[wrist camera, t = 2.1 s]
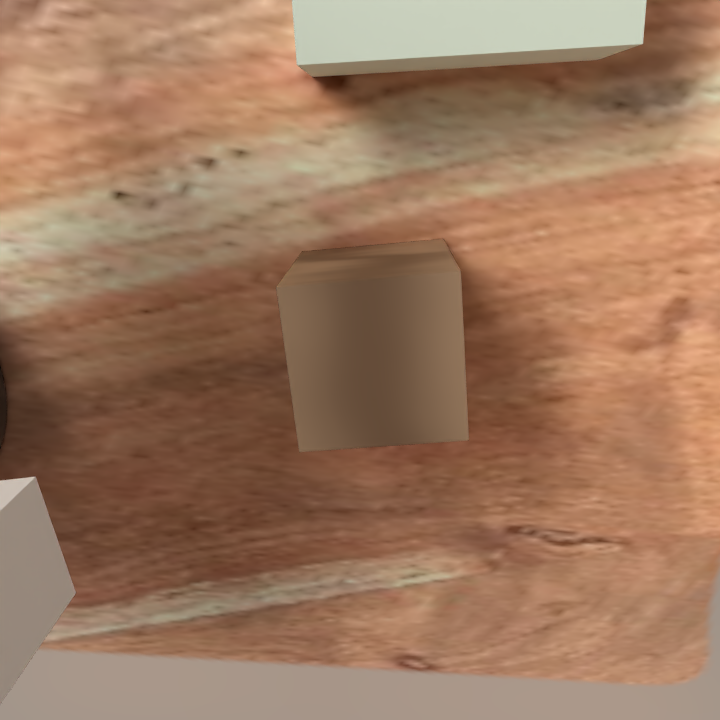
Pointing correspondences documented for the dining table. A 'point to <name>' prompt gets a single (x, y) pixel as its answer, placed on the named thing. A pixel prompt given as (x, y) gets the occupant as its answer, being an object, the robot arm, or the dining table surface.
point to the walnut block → (375, 346)
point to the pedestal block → (459, 33)
